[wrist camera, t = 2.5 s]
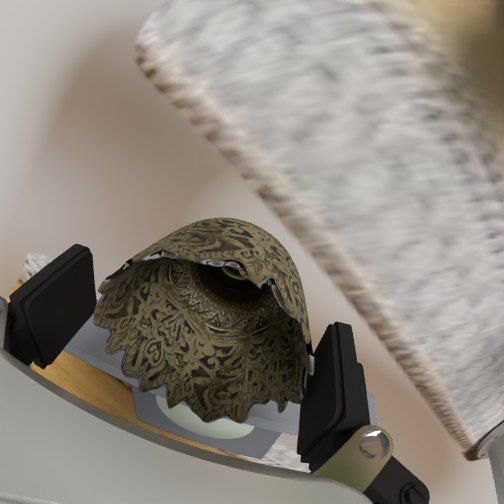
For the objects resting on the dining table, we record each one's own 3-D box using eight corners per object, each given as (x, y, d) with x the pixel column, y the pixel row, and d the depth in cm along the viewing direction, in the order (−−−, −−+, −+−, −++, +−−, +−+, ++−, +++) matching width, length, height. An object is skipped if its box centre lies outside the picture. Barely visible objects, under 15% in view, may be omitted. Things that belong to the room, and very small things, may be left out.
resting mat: (310, 387, 19) (309, 393, 19) (261, 455, 26) (261, 460, 25) (128, 330, 20) (125, 335, 20) (138, 416, 26) (136, 420, 26)
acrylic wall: (373, 393, 19) (377, 436, 15) (365, 402, 19) (369, 444, 16) (77, 302, 20) (48, 331, 17) (79, 313, 21) (51, 342, 17)
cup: (226, 326, 18) (185, 433, 11) (153, 230, 16) (62, 312, 9) (337, 278, 15) (350, 401, 8) (264, 156, 13) (213, 202, 6)
